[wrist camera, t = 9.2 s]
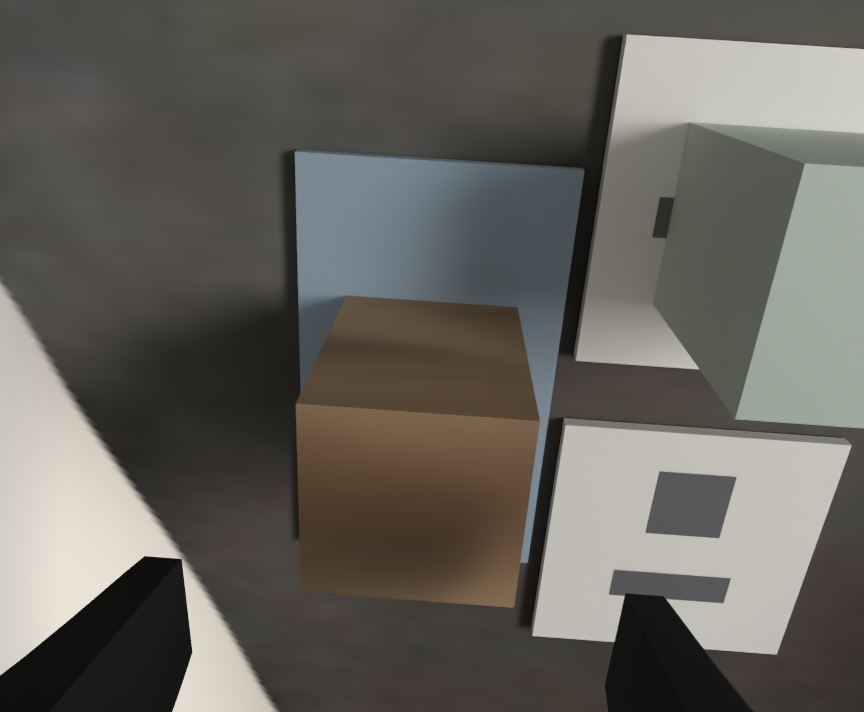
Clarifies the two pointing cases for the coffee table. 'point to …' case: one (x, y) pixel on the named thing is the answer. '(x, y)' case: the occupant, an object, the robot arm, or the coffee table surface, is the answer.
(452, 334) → the walnut block
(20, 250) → the coffee table surface
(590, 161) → the coffee table surface
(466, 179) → the slate mat
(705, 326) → the sage green block
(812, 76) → the white flat square
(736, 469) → the white tile
